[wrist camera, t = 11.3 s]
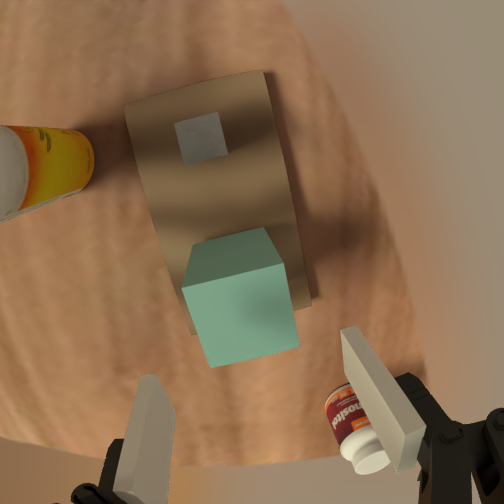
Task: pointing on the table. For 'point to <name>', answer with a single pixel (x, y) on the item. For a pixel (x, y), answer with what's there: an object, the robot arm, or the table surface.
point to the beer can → (41, 167)
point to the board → (217, 176)
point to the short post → (201, 138)
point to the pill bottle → (355, 432)
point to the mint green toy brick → (239, 298)
